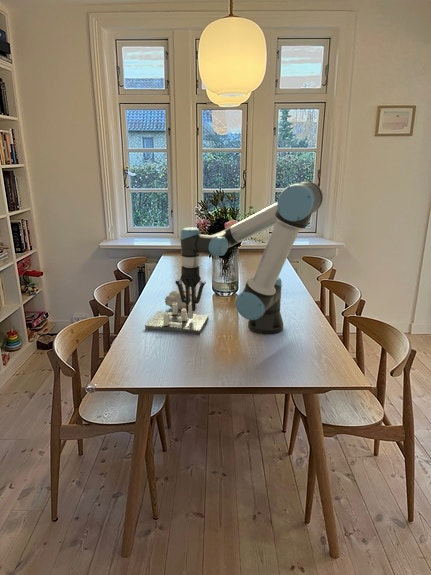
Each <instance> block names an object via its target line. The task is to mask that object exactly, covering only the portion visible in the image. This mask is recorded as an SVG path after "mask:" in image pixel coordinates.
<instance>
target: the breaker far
mask: <svg viewBox="0 0 431 575" xmlns="http://www.w3.org/2000/svg"><path fill="white" fill-rule="evenodd" d="M171 309H172V311H171V312H172V314H174V315H176V314H177V313H179V310H178V303H173V304H172V308H171Z"/></svg>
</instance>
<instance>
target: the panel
mask: <svg viewBox="0 0 431 575" xmlns="http://www.w3.org/2000/svg"><path fill="white" fill-rule="evenodd" d="M164 313H169V321H170V323H169V325H168V326H167V325H164V320H163V314H164ZM193 314H194V313H193ZM209 319H210V318H209V315H207V314H196V313H195V314H194V317H193V318H192V319H189V315H188V313H187V320H186V321H182V318H181V312H178V313H177V314H176V315H174V314H172V311H170V312H169V311H159V310H158V311H157V312H156V313H155V314H154V315H153V316H152V317H151V318H150V319H149V320H148V321H147V322H146V324H145V325H144V330H145V331H155V332H165V333H166V332H167V333H174V334H175V333H176V334H177V333H179V334H185V335H186V334H187V335H198V336H200V335H201V333H202V331H203V330H204V328H205V327H206V324H207V323H208V322H209Z"/></svg>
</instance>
